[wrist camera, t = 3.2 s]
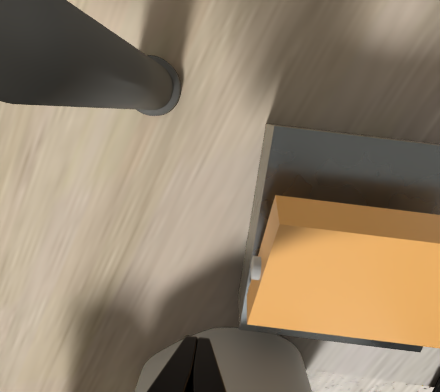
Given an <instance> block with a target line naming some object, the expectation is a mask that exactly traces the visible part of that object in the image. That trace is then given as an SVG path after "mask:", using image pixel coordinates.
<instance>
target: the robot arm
mask: <svg viewBox="0 0 440 392" xmlns="http://www.w3.org/2000/svg"><path fill="white" fill-rule="evenodd" d="M147 392H227V391H226V388H225V385H224V382H223V379H222V375H221V372H220V369H219V366H218V363H217V360H216V357H215V353H214V350H213V347H212V344H211V341H210V339H209V338H206V337H198V338H197V337H196V336H190V335H187V336H186V337H185V338H184V339H183V341H182V342H181V343H180V345H179V346H178V348H177V349H176V350H175V352H174V353H173V355H172V356H171V358H170V359H169V360H168V362H167V363H166V365H165V366H164V367H163V369H162V370H161V372H160V373H159V375H158V376H157V377H156V379H155V380H154V382H153V383H152V384H151V386H150V387H149V389H148V390H147ZM432 392H440V378H439V380H438V382H437V384H436V386H435V387H434V389H433V391H432Z"/></svg>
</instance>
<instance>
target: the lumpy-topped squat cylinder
mask: <svg viewBox="0 0 440 392" xmlns="http://www.w3.org/2000/svg"><path fill="white" fill-rule="evenodd" d="M192 336H196V337H197V338H198V337H206V338H209V339H210V341H211V344H212V347H213V350H214V353H215V357H216V360H217V363H218V366H219V369H220V372H221V375H222V379H223V382H224V385H225V388H226V391H227V392H312V390H311V387H310V384H309V380H308V377H307V373H306V370H305V366H304V363H303V359H302V356H301V354H300V352H299V350H298V349H297V348H296V346H295V345H294V344H292V343H291V342H290V341H288V340H287V339H285V338H283V337H281V336H278V335H276V334H269V333H261V332H253V331H245V330H239V328H213V329H209V330H206V331H203V332H200V333H197V334H195V335H192ZM182 341H183V340H181V341H178V342H176V343H174V344H172V345H170V346H169V347H167V348H166V349H164V350H162V351H160V352H158V353H157V354H155V355H154V356H152V357H151V358H150V359H149V360H148V361H147V362H146V363H145V364H144V366H143V368H142V371H141V374H140V377H139V380H138V382H137V385H136V388H135V391H134V392H147V390H148V389H149V387H150V386H151V384H152V383H153V382H154V380H155V379H156V377H157V376H158V375H159V373H160V372H161V370H162V369H163V367H164V366H165V365H166V363H167V362H168V360H169V359H170V358H171V356H172V355H173V353H174V352H175V350H176V349H177V348H178V346H179V345H180V343H181V342H182Z"/></svg>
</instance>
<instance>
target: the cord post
mask: <svg viewBox="0 0 440 392" xmlns="http://www.w3.org/2000/svg"><path fill="white" fill-rule="evenodd" d="M180 94H181V83H180V79H179V77H178V74H177V72H176V71H175V69H174V68H173V67H172V66H171V65H170V64H169V63H167V62H166V61H165V60H163V59H161V58H159V57H157V56H151V55H145V54H144V53H142V52H141V51H140V50H138V49H137V48H135V47H134V46H132V45H131V44H129V43H128V42H126V41H125V40H123V39H122V38H121V37H119V36H118V35H116V34H115V33H113V32H112V31H110V30H109V29H107V28H106V27H104V26H103V25H102V24H100V23H99V22H97V21H96V20H94V19H93V18H91V17H90V16H88V15H87V14H85V13H84V12H83V11H81V10H80V9H78V8H77V7H75V6H74V5H72V4H71V3H69V2H68V1H66V0H0V101H2V102H5V103H11V104H25V105H48V106H71V107H94V108H117V109H136V110H138V111H139V112H141V113H143V114H146V115H150V116H159V115H164V114H166V113H168V112H170V111H171V110H172V109H173V108H174V107H175V106H176V105H177V103H178V101H179V98H180Z"/></svg>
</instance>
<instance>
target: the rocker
mask: <svg viewBox="0 0 440 392" xmlns="http://www.w3.org/2000/svg"><path fill="white" fill-rule="evenodd" d="M247 324H248V325H256V326H264V327H272V328H280V329H288V330H296V331H305V332H313V333H321V334H329V335H337V336H345V337H353V338H361V339H369V340H377V341H385V342H393V343H401V344H409V345H417V346H425V347H433V348H440V215H436V214H428V213H419V212H411V211H403V210H395V209H386V208H378V207H370V206H362V205H353V204H345V203H337V202H329V201H320V200H312V199H304V198H296V197H287V196H279V195H275V198H274V201H273V205H272V208H271V212H270V215H269V219H268V222H267V226H266V229H265V233H264V236H263V240H262V243H261V247H260V251H259V254H258V256H253V258H252V262H251V282H250V286H249V289H248V293H247Z"/></svg>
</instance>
